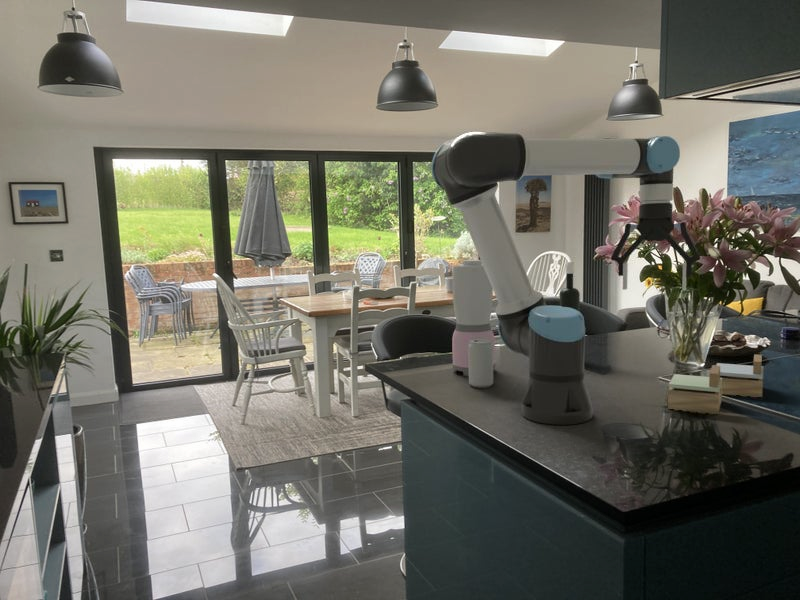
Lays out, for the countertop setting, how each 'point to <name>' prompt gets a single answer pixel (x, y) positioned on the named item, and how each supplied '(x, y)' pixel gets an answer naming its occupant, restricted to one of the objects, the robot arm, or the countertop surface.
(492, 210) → the robot arm
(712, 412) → the box near
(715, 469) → the countertop surface
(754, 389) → the box far
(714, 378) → the lid near
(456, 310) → the blender
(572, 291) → the wine bottle
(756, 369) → the lid far
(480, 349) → the beverage can
